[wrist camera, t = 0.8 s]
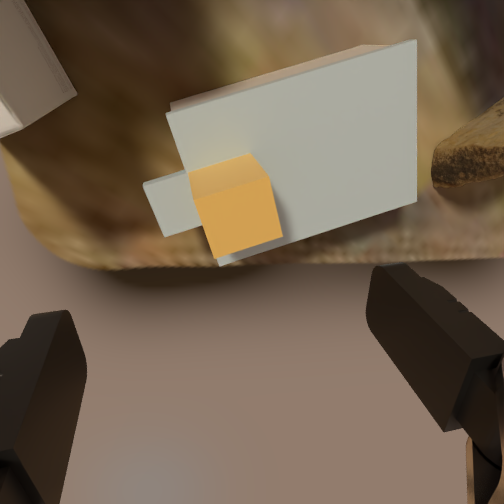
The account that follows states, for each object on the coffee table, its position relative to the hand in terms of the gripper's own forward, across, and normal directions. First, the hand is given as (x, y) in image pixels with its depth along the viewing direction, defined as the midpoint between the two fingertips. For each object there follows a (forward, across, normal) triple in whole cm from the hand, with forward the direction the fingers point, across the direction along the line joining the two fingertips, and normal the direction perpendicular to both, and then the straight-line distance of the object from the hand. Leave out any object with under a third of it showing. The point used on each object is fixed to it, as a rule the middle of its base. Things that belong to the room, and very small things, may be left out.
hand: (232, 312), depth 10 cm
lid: (+19, -7, +2) cm, 20 cm away
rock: (+24, -28, +2) cm, 37 cm away
